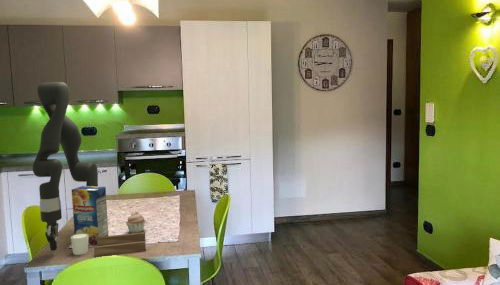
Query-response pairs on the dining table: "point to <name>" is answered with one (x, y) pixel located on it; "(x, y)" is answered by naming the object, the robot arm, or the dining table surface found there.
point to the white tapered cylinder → (80, 243)
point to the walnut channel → (120, 244)
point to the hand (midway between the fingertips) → (53, 250)
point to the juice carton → (90, 212)
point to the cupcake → (135, 223)
